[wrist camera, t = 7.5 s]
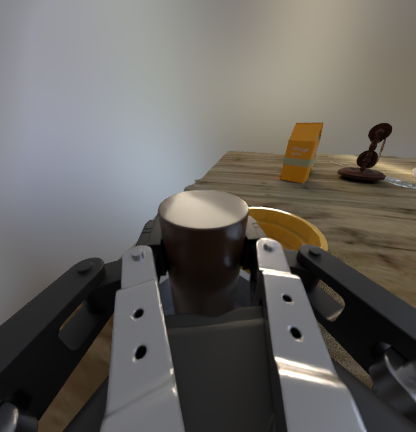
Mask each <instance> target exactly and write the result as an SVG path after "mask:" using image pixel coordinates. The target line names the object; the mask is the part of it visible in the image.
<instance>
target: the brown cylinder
mask: <svg viewBox="0 0 416 432" xmlns="http://www.w3.org/2000/svg"><path fill="white" fill-rule="evenodd" d="M248 215H249V208H248V205H247V204H246V202H244V201H243V200H242V199H241V198H239V197H237V196H235V195H232V194H229V193H226V192H221V191H214V190H193V191H186V192H182V193H178V194H175V195H173V196H170V197H168V198H166V199H165V200H164V201H163V202H162V203H161V204H160V206H159V208H158V216H159V222H160V228H161V234H162V240H163V246H164V252H165V258H166V264H167V270H168V276H169V282H170V288H171V295H172V301H173V307H174V313H175V314H185V313H192V314H198V315H204V316H210V317H218V316H220V315H223V314H225V313H228V312H230V311H232V310H234V306H235V300H236V293H237V287H238V280H239V274H240V267H241V261H242V254H243V248H244V241H245V235H246V228H247V222H248Z"/></svg>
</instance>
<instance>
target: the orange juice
mask: <svg viewBox="0 0 416 432" xmlns="http://www.w3.org/2000/svg"><path fill="white" fill-rule="evenodd" d="M322 127H323V123H296V125H295V127H294V130H293V132H292V134H291V137H290V139H289V142H288V146H287V150H286V154H285V158H284V163H283V168H282V172H281V176H280V179H282V180H288V181H293V182H299V183H304V182H305V181H306V180H307V179H308V177H309V173H310V170H311V167H312V164H313V161H314V158H315V154H316V151H317V148H318V145H319V142H320V137H321V132H322Z"/></svg>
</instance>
